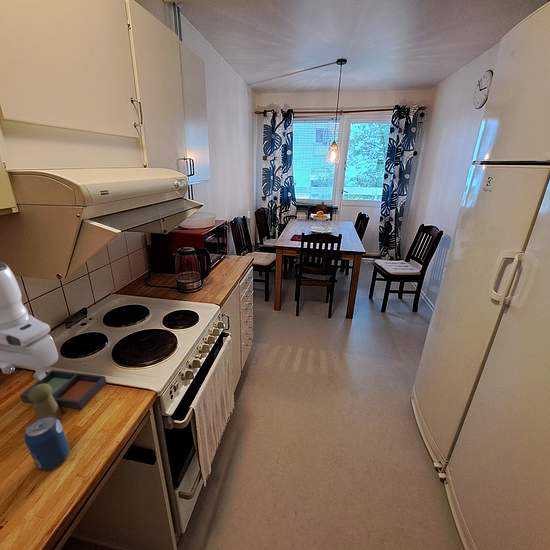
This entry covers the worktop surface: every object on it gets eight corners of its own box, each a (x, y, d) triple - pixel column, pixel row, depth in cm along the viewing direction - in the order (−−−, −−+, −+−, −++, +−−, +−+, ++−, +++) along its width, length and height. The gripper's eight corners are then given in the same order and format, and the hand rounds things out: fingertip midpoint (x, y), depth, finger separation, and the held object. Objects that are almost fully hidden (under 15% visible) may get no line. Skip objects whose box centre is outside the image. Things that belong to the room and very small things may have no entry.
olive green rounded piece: (32, 427, 80) (19, 397, 76) (42, 410, 86) (30, 382, 82) (56, 423, 82) (45, 393, 78) (65, 406, 87) (55, 378, 83)
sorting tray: (22, 402, 88) (19, 394, 87) (54, 376, 99) (51, 369, 98) (81, 410, 86) (78, 402, 85) (107, 383, 97) (105, 376, 96)
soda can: (76, 445, 76) (64, 411, 71) (62, 471, 69) (48, 436, 65) (47, 448, 75) (33, 414, 70) (30, 475, 68) (14, 440, 64)
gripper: (-45, 329, 65) (-23, 377, 70) (28, 341, 61) (46, 391, 67) (-14, 315, 71) (4, 361, 76) (55, 326, 67) (69, 373, 72)
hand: (24, 375), depth 71 cm, fingers open, 8 cm apart
